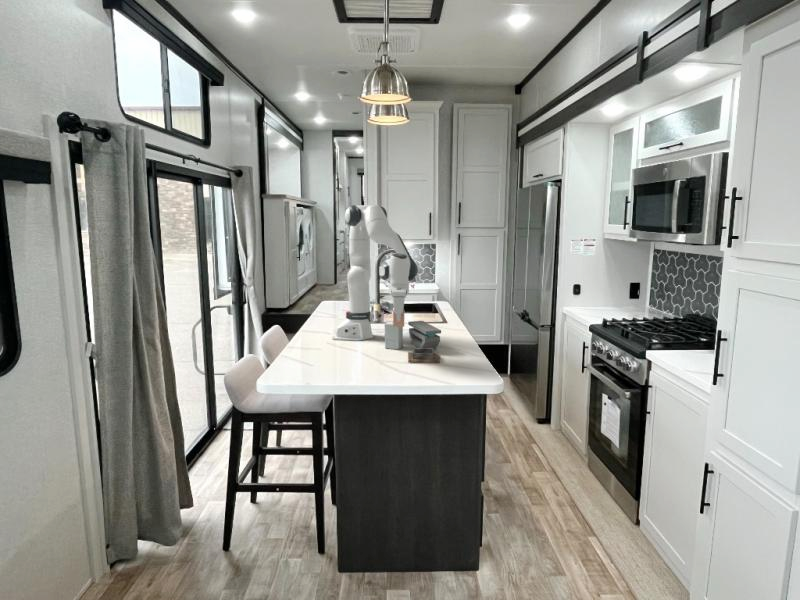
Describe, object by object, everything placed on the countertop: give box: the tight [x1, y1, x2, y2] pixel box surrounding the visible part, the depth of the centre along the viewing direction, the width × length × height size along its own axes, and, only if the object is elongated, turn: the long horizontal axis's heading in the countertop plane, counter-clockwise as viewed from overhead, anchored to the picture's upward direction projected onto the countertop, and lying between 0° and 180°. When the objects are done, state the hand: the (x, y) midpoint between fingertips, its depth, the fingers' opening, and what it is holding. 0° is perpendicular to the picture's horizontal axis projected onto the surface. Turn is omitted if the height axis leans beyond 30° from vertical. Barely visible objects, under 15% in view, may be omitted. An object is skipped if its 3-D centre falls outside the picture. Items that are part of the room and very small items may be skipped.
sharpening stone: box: [407, 320, 442, 350], centre depth 247 cm, size 25×8×11 cm, turn 18°
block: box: [392, 309, 405, 328], centre depth 226 cm, size 5×5×7 cm
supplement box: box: [384, 320, 404, 350], centre depth 246 cm, size 7×7×13 cm
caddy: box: [407, 347, 441, 364], centre depth 226 cm, size 14×14×4 cm
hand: (398, 319), depth 226 cm, fingers closed on block, 5 cm apart
